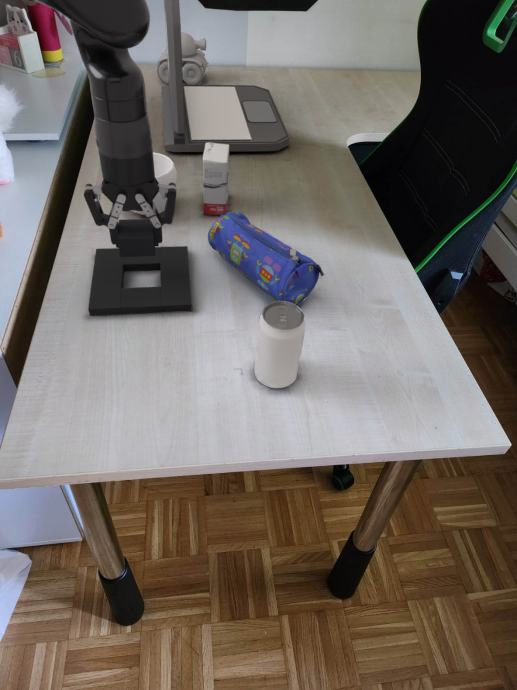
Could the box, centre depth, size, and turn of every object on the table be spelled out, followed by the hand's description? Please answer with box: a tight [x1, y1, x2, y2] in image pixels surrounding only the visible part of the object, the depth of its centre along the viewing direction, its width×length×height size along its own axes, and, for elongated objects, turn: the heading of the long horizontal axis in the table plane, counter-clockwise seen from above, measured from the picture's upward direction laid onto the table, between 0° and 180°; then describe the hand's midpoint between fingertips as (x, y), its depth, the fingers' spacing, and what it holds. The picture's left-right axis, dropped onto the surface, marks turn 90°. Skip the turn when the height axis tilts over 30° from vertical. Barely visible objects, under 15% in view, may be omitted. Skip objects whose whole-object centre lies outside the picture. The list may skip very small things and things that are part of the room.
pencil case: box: [207, 211, 325, 307], centre depth 90 cm, size 22×9×10 cm, turn 42°
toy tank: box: [156, 31, 209, 85], centre depth 154 cm, size 15×11×13 cm
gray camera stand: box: [160, 0, 291, 153], centre depth 128 cm, size 38×31×32 cm
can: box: [253, 300, 307, 389], centre depth 73 cm, size 6×6×12 cm
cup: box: [130, 151, 178, 217], centre depth 104 cm, size 12×12×10 cm
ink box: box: [202, 143, 230, 216], centre depth 105 cm, size 9×5×12 cm, turn 179°
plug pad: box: [117, 218, 155, 257], centre depth 84 cm, size 6×6×4 cm
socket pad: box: [87, 245, 193, 317], centre depth 90 cm, size 16×16×2 cm
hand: (137, 243), depth 85 cm, fingers closed on plug pad, 5 cm apart
